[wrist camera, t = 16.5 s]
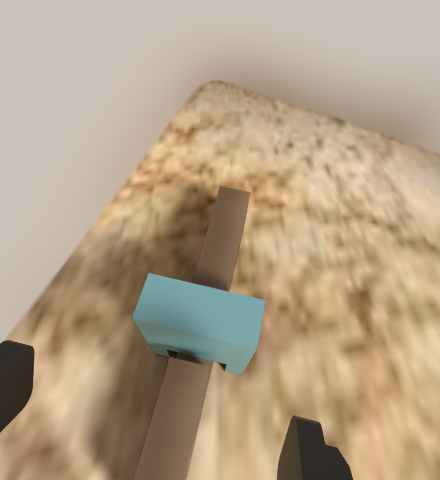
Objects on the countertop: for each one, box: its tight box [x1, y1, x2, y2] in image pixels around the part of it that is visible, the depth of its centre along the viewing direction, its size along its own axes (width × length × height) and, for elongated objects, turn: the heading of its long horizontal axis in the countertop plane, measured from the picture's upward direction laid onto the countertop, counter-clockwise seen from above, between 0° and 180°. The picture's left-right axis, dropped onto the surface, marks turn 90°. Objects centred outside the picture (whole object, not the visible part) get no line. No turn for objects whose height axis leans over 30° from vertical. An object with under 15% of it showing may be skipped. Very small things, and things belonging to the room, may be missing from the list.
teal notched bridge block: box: [132, 273, 265, 375], centre depth 19 cm, size 6×2×8 cm, turn 77°
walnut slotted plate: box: [134, 186, 250, 480], centre depth 21 cm, size 2×20×5 cm, turn 167°
